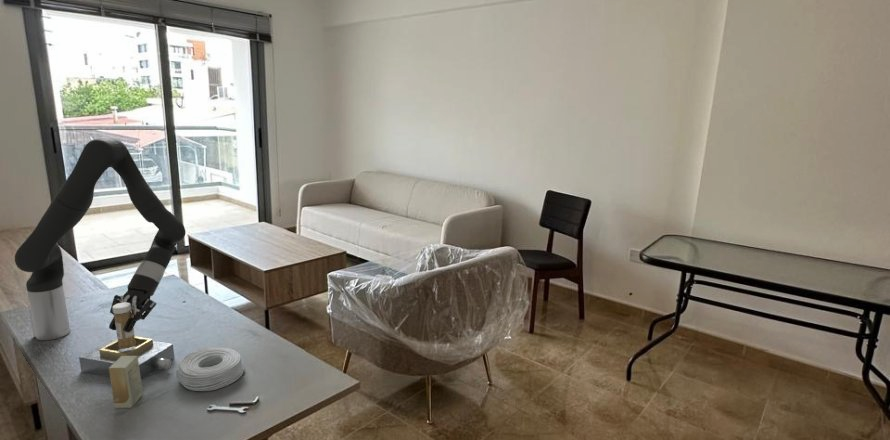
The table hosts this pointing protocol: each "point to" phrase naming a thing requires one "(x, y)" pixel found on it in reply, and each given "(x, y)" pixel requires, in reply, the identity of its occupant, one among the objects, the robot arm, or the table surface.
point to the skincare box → (125, 381)
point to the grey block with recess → (146, 349)
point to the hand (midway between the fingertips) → (119, 330)
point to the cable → (210, 369)
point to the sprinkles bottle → (121, 318)
